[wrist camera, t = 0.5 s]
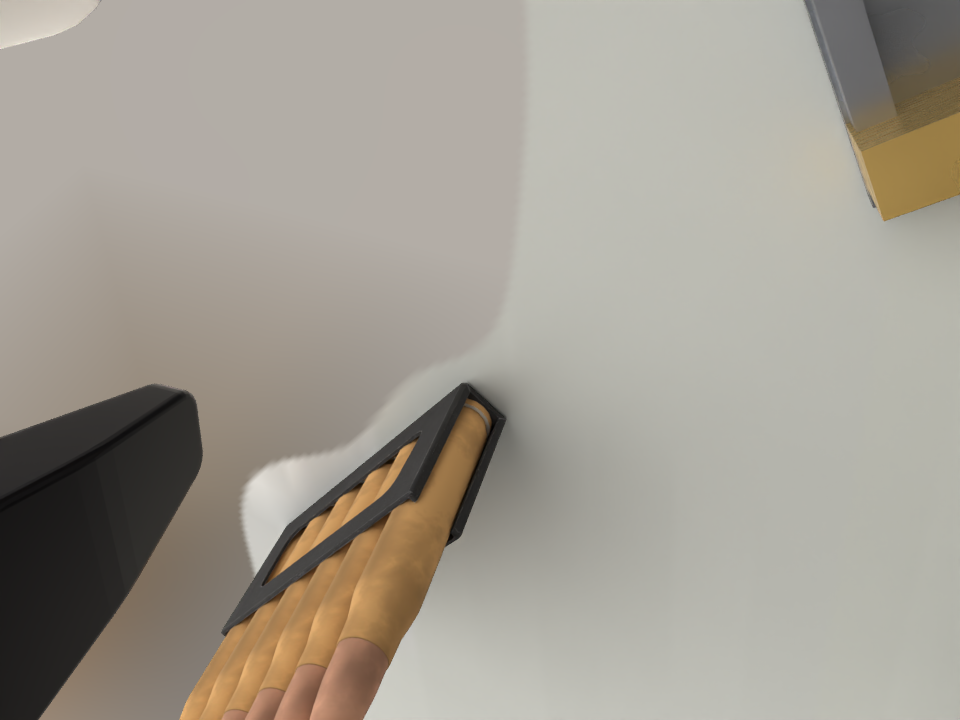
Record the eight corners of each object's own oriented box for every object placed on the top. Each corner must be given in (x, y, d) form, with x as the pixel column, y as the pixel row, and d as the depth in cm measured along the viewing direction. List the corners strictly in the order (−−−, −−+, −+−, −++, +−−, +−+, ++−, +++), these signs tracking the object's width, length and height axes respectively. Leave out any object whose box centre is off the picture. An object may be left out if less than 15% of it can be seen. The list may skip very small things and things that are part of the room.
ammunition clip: (465, 379, 24) (295, 741, 14) (508, 418, 24) (373, 798, 14) (285, 526, 29) (73, 857, 19) (322, 556, 30) (133, 895, 20)
